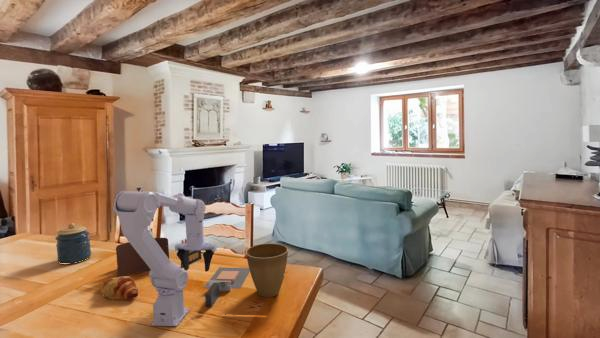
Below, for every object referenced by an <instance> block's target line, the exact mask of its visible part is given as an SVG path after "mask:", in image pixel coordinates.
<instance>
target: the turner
mask: <svg viewBox="0 0 600 338" xmlns="http://www.w3.org/2000/svg"><path fill="white" fill-rule="evenodd" d="M208 281H209V288H208V290H207V291H206V292H205V293H204V297H205V308H212V307H213V306H214V305H215V303H216V302H217V300H218V298H219V297H220V295H221V294H220V293H221V292H232V288H231V281H214V280H210V279H209V280H208Z"/></svg>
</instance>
